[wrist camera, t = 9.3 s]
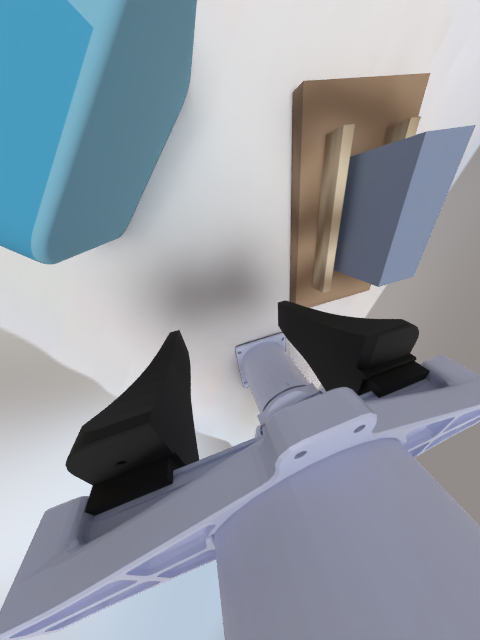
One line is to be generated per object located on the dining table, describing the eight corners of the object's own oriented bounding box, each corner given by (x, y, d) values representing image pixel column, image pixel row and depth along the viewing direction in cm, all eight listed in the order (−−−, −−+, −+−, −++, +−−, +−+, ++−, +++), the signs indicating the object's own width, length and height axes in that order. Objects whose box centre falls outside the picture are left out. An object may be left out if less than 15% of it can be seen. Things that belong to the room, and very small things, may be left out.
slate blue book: (353, 260, 22) (413, 276, 17) (326, 267, 22) (378, 286, 16) (375, 154, 17) (475, 125, 11) (339, 160, 16) (426, 131, 11)
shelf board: (360, 286, 27) (382, 295, 24) (289, 306, 25) (304, 318, 22) (410, 83, 16) (460, 55, 13) (292, 92, 14) (321, 62, 11)
